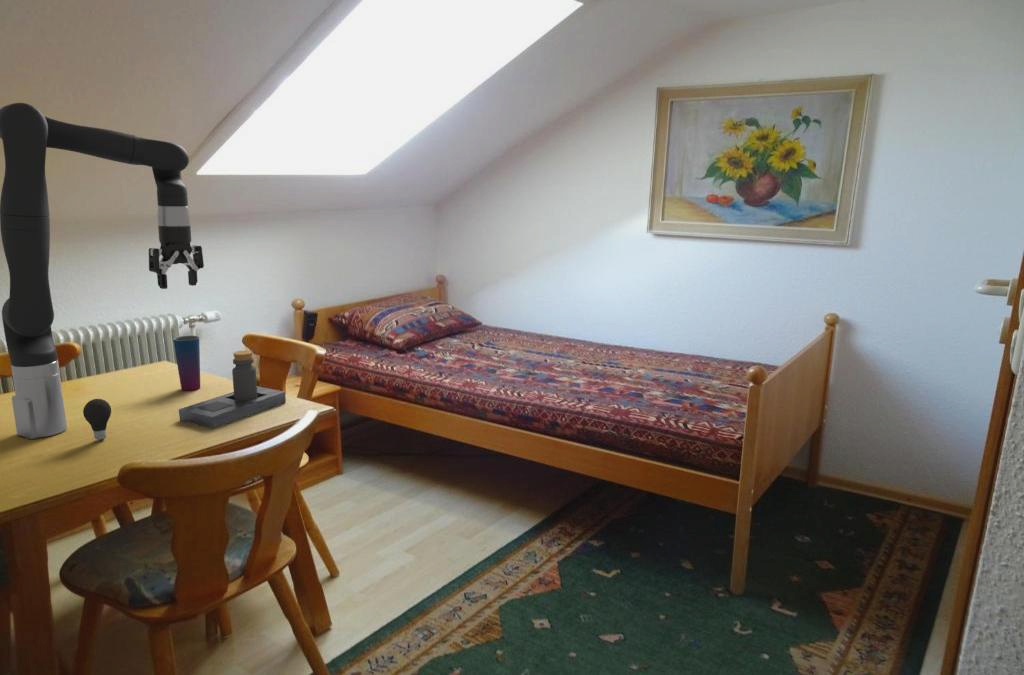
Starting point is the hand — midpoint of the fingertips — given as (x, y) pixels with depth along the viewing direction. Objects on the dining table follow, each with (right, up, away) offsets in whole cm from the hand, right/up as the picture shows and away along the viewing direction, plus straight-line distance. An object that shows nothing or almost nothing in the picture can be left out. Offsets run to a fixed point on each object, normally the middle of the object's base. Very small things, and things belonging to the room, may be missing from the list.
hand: (178, 286), depth 187 cm
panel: (+14, -33, +1) cm, 36 cm away
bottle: (+16, -32, +4) cm, 36 cm away
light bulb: (-8, -37, -20) cm, 43 cm away
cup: (-6, -28, +20) cm, 35 cm away
